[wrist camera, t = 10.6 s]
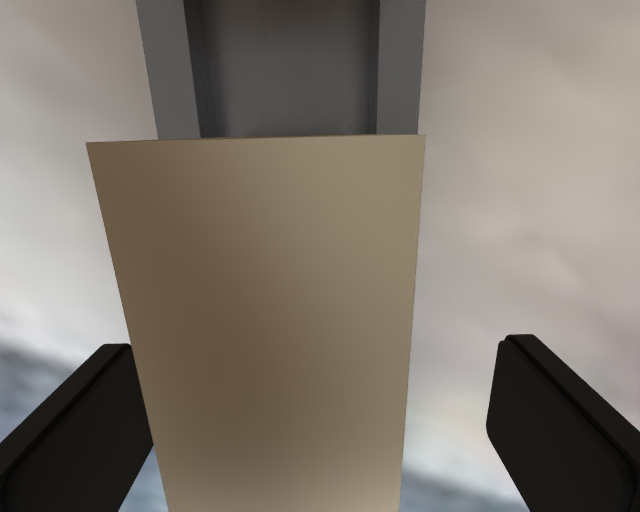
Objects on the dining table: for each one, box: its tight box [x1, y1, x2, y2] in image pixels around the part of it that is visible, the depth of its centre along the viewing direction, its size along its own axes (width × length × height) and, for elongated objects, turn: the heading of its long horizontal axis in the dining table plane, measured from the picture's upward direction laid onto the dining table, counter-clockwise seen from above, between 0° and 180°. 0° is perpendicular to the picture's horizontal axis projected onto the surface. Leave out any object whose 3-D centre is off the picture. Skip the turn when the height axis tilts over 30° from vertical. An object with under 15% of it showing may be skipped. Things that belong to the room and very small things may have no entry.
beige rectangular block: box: [86, 134, 425, 512], centre depth 10 cm, size 4×12×9 cm, turn 1°
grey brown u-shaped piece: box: [136, 0, 426, 140], centre depth 10 cm, size 8×25×10 cm, turn 1°
